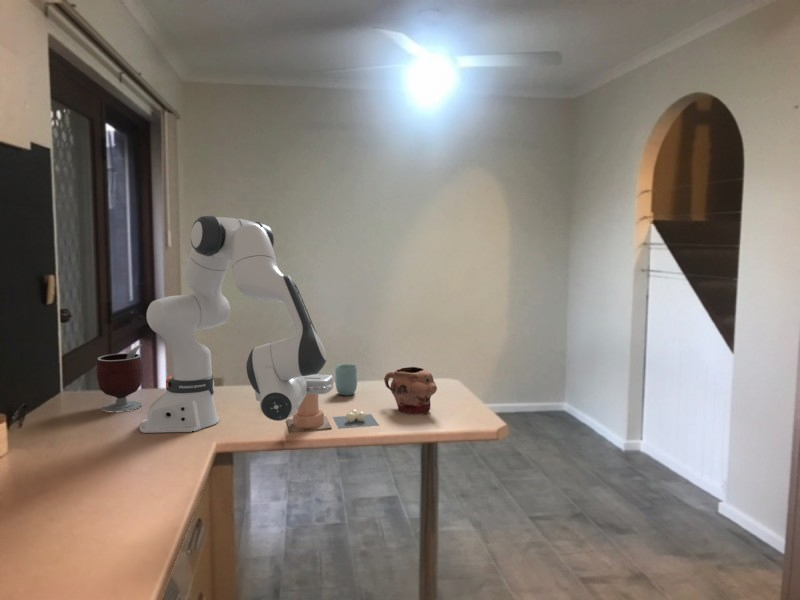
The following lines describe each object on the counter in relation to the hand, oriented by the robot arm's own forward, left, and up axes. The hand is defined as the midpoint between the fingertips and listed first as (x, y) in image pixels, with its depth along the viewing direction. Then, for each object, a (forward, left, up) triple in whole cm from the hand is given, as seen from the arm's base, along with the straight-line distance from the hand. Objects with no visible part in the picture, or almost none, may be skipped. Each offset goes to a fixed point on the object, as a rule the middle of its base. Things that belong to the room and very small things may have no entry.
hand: (299, 376), depth 172 cm
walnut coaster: (+3, +11, -18) cm, 22 cm away
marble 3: (+19, +11, -17) cm, 28 cm away
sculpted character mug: (+36, +19, -18) cm, 45 cm away
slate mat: (+17, +11, -18) cm, 27 cm away
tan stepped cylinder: (+3, +11, -17) cm, 21 cm away
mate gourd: (-54, +49, -18) cm, 75 cm away
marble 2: (+16, +11, -17) cm, 26 cm away
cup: (+20, +46, -18) cm, 54 cm away
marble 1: (+17, +13, -17) cm, 28 cm away
